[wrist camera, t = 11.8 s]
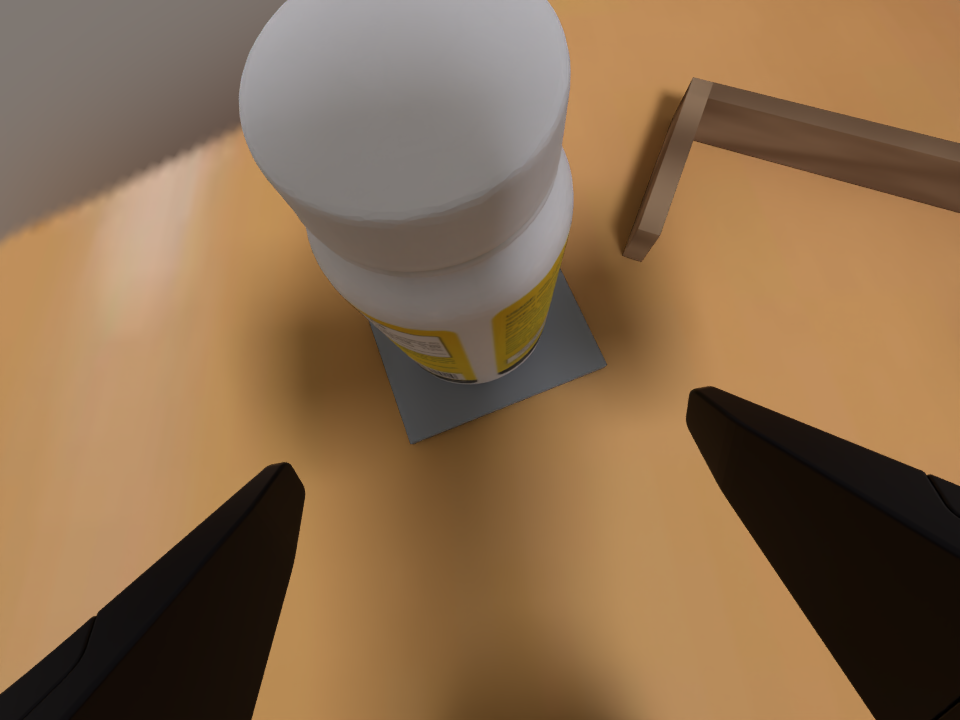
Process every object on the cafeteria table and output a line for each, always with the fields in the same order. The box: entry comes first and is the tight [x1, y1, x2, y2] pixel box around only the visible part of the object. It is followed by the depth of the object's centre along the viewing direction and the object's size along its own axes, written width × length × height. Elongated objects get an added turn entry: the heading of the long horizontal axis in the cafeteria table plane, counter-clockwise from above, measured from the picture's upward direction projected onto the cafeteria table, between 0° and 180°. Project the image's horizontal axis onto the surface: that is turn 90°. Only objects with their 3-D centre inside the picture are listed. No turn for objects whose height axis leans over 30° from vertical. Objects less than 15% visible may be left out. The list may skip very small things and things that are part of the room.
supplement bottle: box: [239, 0, 573, 384], centre depth 13 cm, size 7×7×13 cm
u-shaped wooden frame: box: [622, 77, 960, 261], centre depth 18 cm, size 9×18×2 cm, turn 68°
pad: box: [369, 269, 607, 444], centre depth 20 cm, size 10×10×1 cm
